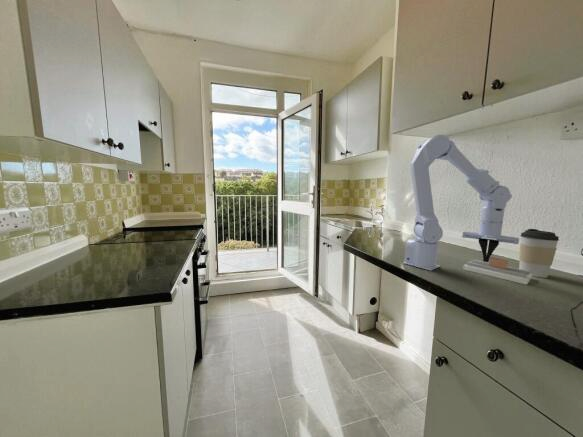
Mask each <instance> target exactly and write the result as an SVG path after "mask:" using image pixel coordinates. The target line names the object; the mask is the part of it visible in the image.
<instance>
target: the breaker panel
mask: <svg viewBox="0 0 583 437" xmlns="http://www.w3.org/2000/svg"><path fill="white" fill-rule="evenodd" d="M462 269H463V270H465V271H468V272H473V273H475V274H481V275H484V276H489V277H493V278H497V279H502V280H506V281H511V282H514V283H519V284H523V285H525V286H526V285H528V284H529V283H530V281H531V280H532V278H533V276H532V274H530V271H526V270H521V269H519V268H516V267H511V266H507V270H504V269H499V268H495V267H490V266H489V261H488V262H483V260H477V259H471V261H467V262H466V263H464V264H463V267H462Z"/></svg>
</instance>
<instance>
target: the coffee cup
mask: <svg viewBox="0 0 583 437" xmlns="http://www.w3.org/2000/svg"><path fill="white" fill-rule="evenodd" d="M519 236H520V243H519V257H518V258H519V259H518V260H519V265H518V266H519V267H518V269H521V270H526V271H530V274H532V277H535V278H545V279H546V278H548V276H549V272H550V269H551V266H552V265H553V262H554V259H555V255H556V252H557V245H558V242H559V241H560V239H559V236H558V235H556V233H555V232H552V231H544V230H539V229H536V228H528V229H526V230H524V232H521V233H520V235H519Z"/></svg>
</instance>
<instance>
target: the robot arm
mask: <svg viewBox="0 0 583 437" xmlns="http://www.w3.org/2000/svg"><path fill="white" fill-rule="evenodd" d="M436 160H443V161H448V162H449V163H450V164H451V165H453V167H455V168H456V169H457V170H459V171H460V172H461V173H462V174H464V175H465V182H467V184H469V186H470V187H471V188H473V189H474V190H475V191H476V192H477V193H478V195H479V199H480V200H481V201H482V207H481V214H480V223H479V230H478V232H471V231H463V232H462V235H461V236H462V238H463V239H464V238H465V239H475V240H478V244H479V247H480V250H481V252H482V253H481V254H482V257H483V258H482V261H483V262H488V263H489V262H490V258H491V256H492V255H493V253H494V251H495V250H496V249H497V247H498V246H500V243H506V244H513V245H520V243H519V242H520V238H519V237H515V236H509V235H508V236H507V235H502V231H503V230H502V229H503V222H504V216H505V209H506V207H507V204H508V202H509V201H510V200H511V199H512V196H513V194H511V191H510V189H509V188H508V187H507V186H505V185H500V181H499V180H496V179H495V178H494V177H492V176H491V174H489V173H490V171H489V170H488V169H484V168H477V167H475V166H474V164H473V163H472V162H471V161H470V160H469V159H468V158H467V157H466V155H464V154H463V153H462V152H461V151H460V149H459V148H458V147H457V145H456V143H455V142H454V141H452V140H450V138H449V137H448V136H447V135H445V134H437V135H434V136H433V137H431V138H429V139H428V140H425V141H423V142H422V143H421V144H420V145H419V146H418V147H417V148H416V151H415V153H414V156H413V159H412V160H411V162H410V171H411V179H412V187H413V193H414V201H415V210H416V216H415V218H414V221H415V222H414V226H413V232H414V235H415V237H414V238H410V239H408V240H407V242H406V244H405V252H404V261H403V262H402V263H403V264H405V265H409V266H412V267H417V268H419V269H424V270H427V271H433V270H435V269H438V268H441V265H440V264H437V257H438V255H437V254H438V248H439V247H438V246H439V241H440V240H441V239H442V238H443V236H444V231H443V228H442V227H441V226H440V223H439V218H438V217H437V216H436V214H435V209H434V202H433V194H432V186H431V184H432V183H431V177H430V176H431V175H430V168H429V167H430V166H431V165H432V164H433V163H434V162H435V161H436Z"/></svg>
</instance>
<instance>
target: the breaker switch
mask: <svg viewBox="0 0 583 437" xmlns="http://www.w3.org/2000/svg"><path fill="white" fill-rule="evenodd" d="M488 263H489V266H490V267H495V268H499V269H504V270H507V267H508V264H509V259H506V258H501V257H497V256H496V257H494V256H492V257H490V258H489V261H488Z"/></svg>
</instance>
